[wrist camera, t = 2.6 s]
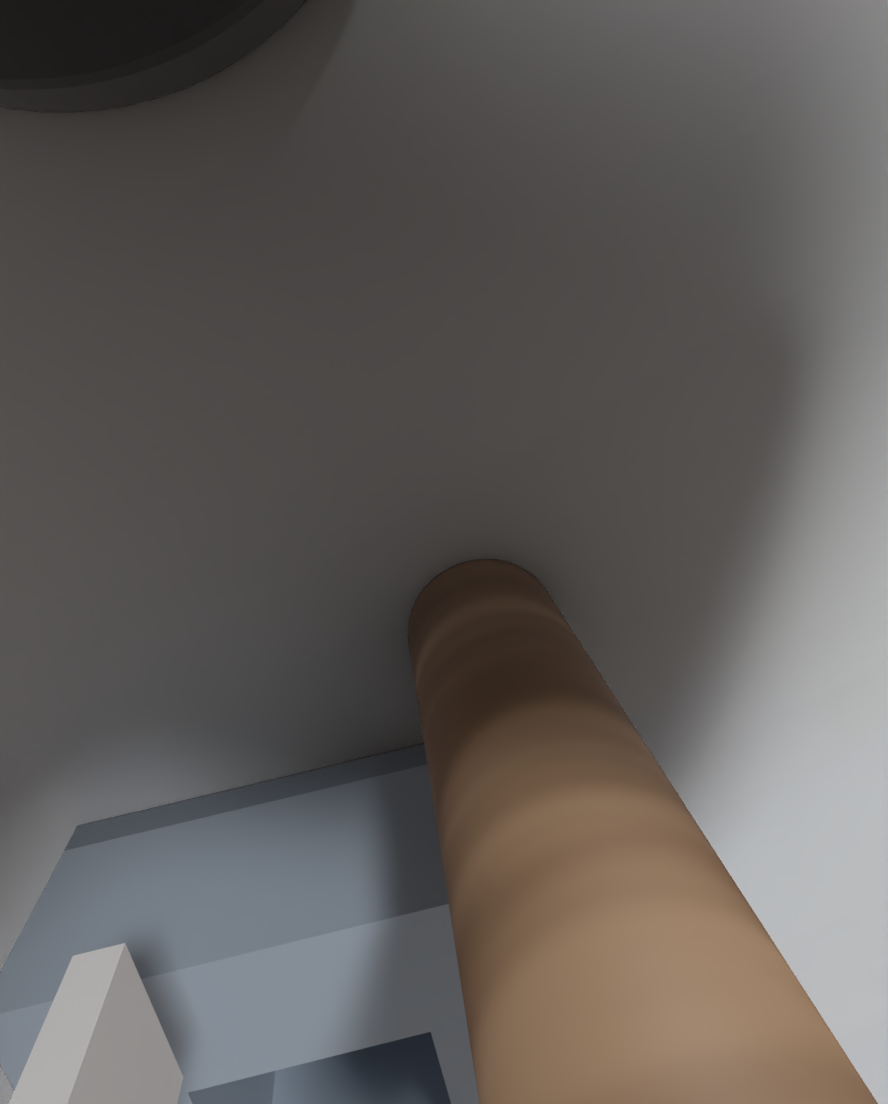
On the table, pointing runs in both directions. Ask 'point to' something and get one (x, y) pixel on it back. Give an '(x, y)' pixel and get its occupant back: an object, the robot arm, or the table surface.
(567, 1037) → the walnut dowel
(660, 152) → the table surface
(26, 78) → the robot arm
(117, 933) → the socket block
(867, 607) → the table surface
